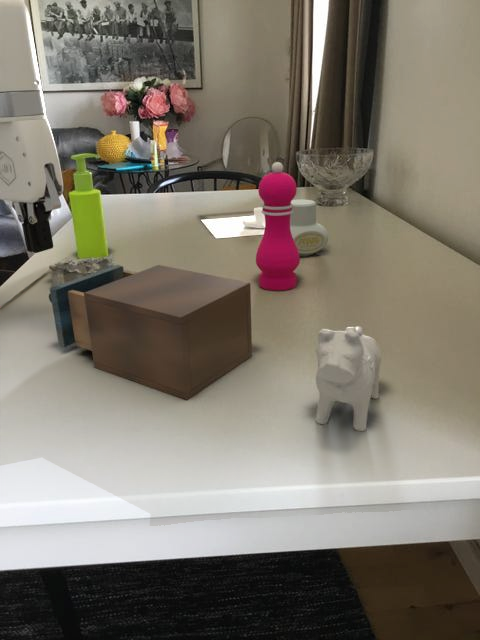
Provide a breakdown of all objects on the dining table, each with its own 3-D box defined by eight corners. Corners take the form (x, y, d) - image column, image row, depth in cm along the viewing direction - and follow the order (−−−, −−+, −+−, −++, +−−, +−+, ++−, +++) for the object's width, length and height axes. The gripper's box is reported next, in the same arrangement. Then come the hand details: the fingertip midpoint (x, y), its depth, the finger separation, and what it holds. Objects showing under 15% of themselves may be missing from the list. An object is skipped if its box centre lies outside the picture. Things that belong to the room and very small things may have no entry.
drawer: (37, 338, 75) (27, 282, 72) (102, 311, 83) (95, 260, 80) (134, 371, 65) (127, 308, 62) (196, 336, 74) (193, 280, 71)
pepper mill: (293, 276, 99) (294, 158, 91) (304, 290, 92) (306, 163, 85) (252, 279, 98) (250, 160, 90) (261, 293, 91) (259, 166, 83)
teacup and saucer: (245, 231, 130) (245, 213, 129) (237, 223, 138) (237, 207, 136) (281, 228, 132) (281, 210, 131) (272, 221, 139) (272, 204, 138)
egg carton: (49, 289, 96) (45, 266, 94) (59, 276, 103) (55, 254, 101) (112, 286, 96) (109, 263, 95) (118, 273, 103) (115, 251, 102)
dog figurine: (301, 444, 53) (303, 340, 49) (334, 380, 64) (337, 291, 60) (358, 455, 51) (365, 348, 47) (382, 388, 62) (388, 297, 58)
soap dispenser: (118, 255, 114) (106, 153, 107) (88, 263, 110) (74, 157, 102) (102, 250, 118) (89, 151, 110) (72, 258, 113) (57, 155, 106)
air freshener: (316, 244, 118) (317, 196, 114) (334, 254, 111) (336, 203, 107) (267, 250, 115) (266, 200, 111) (282, 260, 108) (282, 208, 104)
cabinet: (94, 367, 68) (83, 292, 65) (164, 331, 78) (158, 264, 74) (186, 400, 61) (180, 317, 57) (252, 356, 70) (250, 282, 66)
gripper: (-47, 111, 72) (-15, 250, 79) (24, 108, 64) (53, 264, 71) (4, 108, 78) (30, 238, 85) (76, 105, 70) (98, 249, 77)
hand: (40, 249), depth 78 cm, fingers closed
